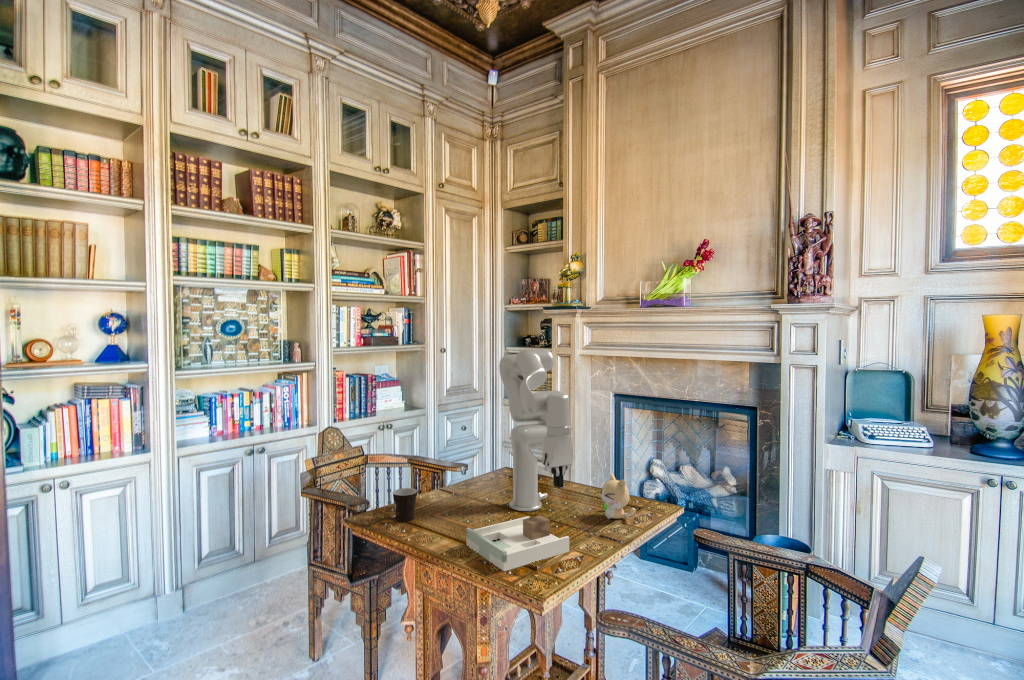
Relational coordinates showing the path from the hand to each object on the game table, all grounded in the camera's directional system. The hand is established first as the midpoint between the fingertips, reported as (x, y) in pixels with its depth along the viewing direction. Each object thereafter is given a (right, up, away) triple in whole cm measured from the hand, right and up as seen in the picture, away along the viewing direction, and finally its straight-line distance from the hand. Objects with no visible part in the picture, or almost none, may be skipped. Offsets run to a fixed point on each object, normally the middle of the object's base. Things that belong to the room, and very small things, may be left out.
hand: (558, 486), depth 173 cm
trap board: (-14, -17, -9) cm, 23 cm away
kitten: (+22, -17, +19) cm, 33 cm away
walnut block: (-8, -14, -5) cm, 17 cm away
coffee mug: (-54, -17, +16) cm, 59 cm away
